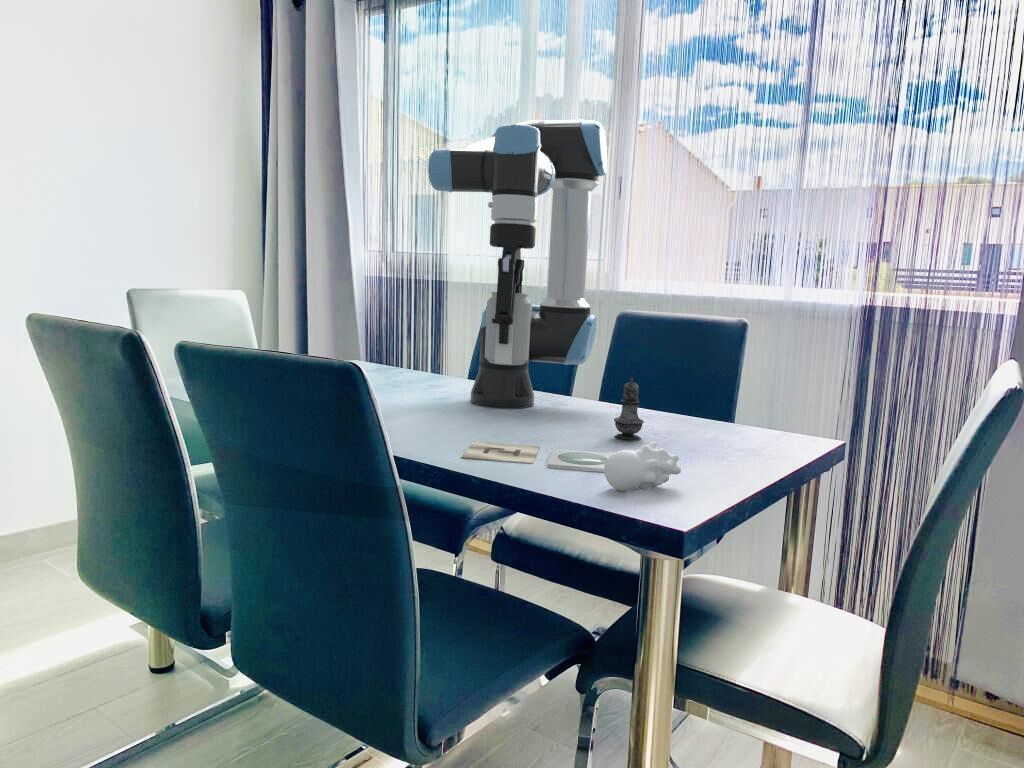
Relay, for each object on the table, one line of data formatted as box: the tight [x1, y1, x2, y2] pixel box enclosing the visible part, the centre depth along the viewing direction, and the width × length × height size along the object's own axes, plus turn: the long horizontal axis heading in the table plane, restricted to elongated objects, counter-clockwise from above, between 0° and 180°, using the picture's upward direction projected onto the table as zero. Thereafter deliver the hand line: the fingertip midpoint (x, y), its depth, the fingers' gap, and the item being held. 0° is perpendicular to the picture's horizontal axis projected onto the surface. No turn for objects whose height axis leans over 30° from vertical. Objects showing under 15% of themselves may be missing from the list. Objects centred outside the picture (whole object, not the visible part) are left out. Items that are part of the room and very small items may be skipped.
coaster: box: [546, 448, 615, 473], centre depth 126 cm, size 11×11×1 cm
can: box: [485, 291, 532, 365], centre depth 127 cm, size 8×8×12 cm
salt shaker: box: [613, 377, 645, 442], centre depth 146 cm, size 6×6×12 cm
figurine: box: [603, 441, 682, 492], centre depth 112 cm, size 7×7×12 cm
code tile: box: [460, 441, 540, 465], centre depth 130 cm, size 12×12×1 cm
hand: (506, 360), depth 127 cm, fingers closed on can, 7 cm apart
